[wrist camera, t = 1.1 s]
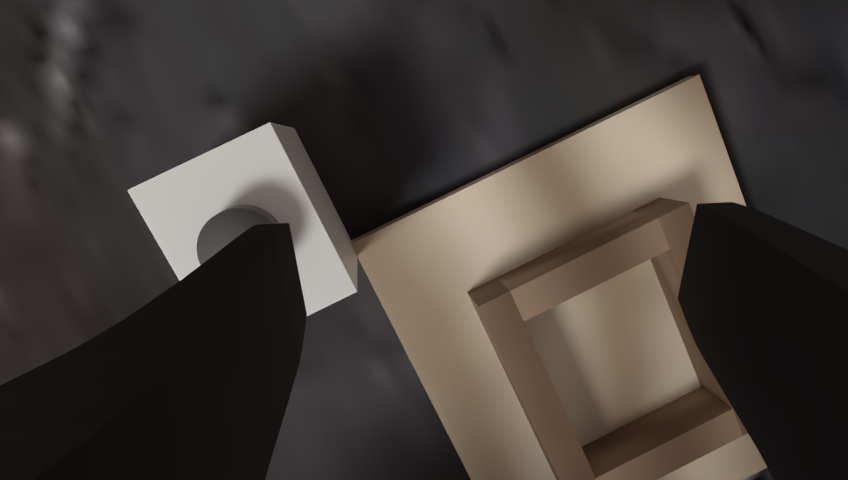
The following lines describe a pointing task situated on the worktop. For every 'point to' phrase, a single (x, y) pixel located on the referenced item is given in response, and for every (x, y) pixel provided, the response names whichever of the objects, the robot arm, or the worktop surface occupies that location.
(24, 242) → the worktop surface
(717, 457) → the socket dock
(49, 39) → the worktop surface
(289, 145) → the plug
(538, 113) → the worktop surface
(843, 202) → the worktop surface
